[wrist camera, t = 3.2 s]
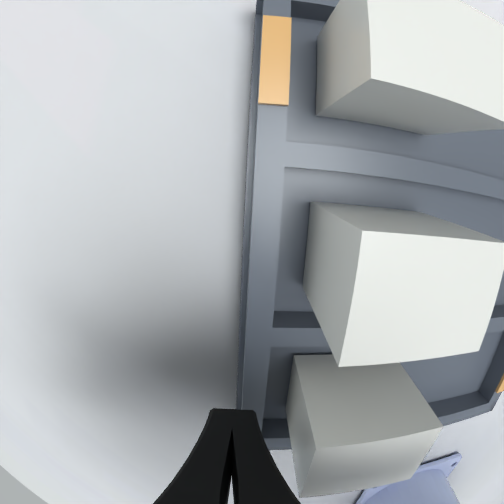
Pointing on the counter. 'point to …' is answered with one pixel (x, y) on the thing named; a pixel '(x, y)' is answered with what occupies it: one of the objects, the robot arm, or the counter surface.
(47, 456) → the counter surface
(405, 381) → the pale grey block
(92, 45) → the counter surface
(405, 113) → the off-white plastic block
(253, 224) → the grey divided tray
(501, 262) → the off-white block
